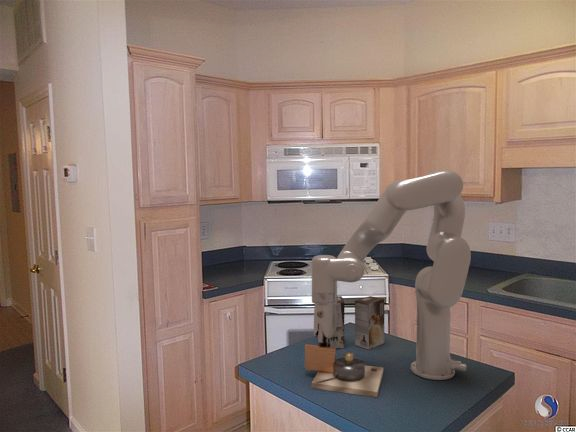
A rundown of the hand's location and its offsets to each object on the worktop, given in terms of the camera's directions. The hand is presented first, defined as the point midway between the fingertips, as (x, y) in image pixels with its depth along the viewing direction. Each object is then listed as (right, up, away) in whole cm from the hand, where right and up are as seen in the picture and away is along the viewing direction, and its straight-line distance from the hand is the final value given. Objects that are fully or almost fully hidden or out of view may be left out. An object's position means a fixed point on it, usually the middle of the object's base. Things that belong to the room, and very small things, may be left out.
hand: (324, 356), depth 132 cm
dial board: (+7, -5, -6) cm, 10 cm away
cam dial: (+3, -3, -4) cm, 6 cm away
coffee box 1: (+5, -3, +23) cm, 24 cm away
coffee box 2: (+18, -3, +22) cm, 29 cm away
